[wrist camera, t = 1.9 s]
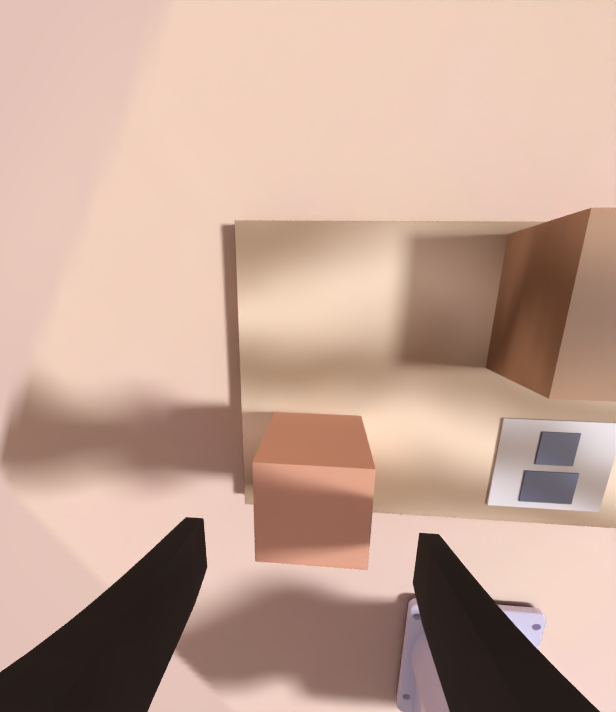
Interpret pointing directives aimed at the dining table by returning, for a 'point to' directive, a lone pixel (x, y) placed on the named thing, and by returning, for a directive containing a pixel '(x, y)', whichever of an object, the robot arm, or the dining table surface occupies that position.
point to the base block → (559, 308)
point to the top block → (314, 491)
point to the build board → (413, 369)
